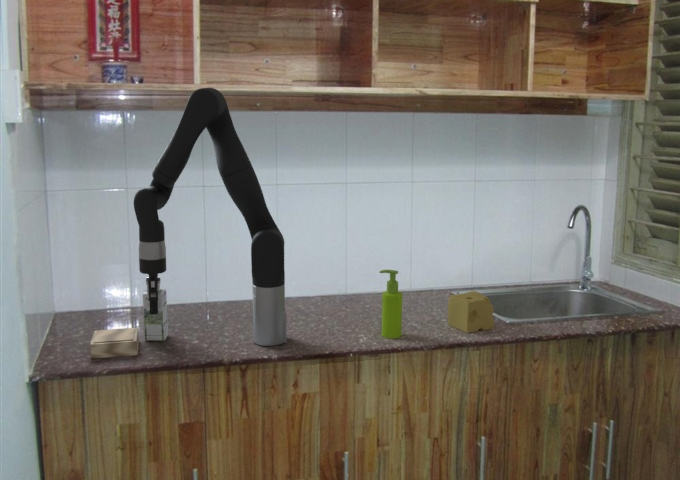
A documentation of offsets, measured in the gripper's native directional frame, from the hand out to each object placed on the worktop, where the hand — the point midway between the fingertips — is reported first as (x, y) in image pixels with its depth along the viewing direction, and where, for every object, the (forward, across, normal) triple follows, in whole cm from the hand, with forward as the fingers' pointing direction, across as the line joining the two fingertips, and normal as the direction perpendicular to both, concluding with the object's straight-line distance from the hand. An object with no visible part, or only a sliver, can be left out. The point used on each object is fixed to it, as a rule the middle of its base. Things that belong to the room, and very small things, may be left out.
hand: (154, 309), depth 197 cm
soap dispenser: (+8, -13, -68) cm, 70 cm away
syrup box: (+9, 0, 0) cm, 9 cm away
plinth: (+9, -7, +11) cm, 15 cm away
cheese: (+8, -11, -95) cm, 96 cm away
